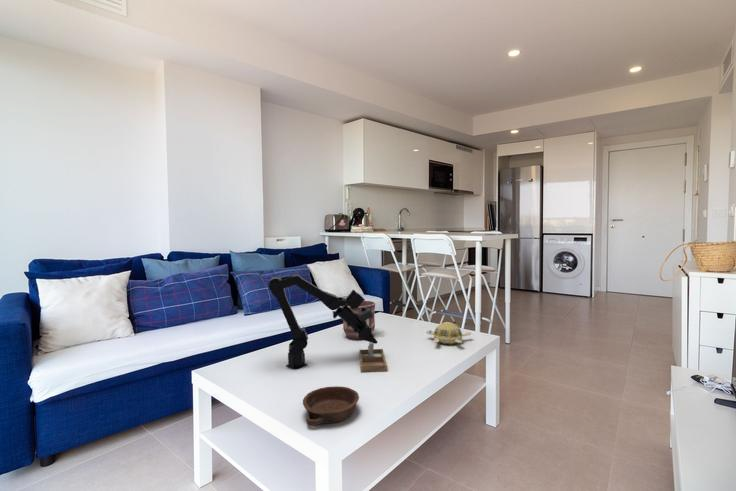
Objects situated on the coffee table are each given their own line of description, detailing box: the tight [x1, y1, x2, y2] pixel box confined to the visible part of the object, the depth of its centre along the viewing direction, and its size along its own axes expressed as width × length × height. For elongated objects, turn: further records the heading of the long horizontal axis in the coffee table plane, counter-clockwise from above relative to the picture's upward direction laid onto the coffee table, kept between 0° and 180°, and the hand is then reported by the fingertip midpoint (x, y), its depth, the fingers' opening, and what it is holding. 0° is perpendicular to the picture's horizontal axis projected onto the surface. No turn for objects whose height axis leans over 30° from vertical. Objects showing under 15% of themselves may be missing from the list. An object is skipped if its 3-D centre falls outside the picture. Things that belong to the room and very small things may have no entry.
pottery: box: [342, 300, 376, 341], centre depth 197 cm, size 18×18×18 cm
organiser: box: [359, 348, 388, 374], centre depth 158 cm, size 20×11×2 cm, turn 3°
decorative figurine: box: [425, 321, 472, 345], centre depth 184 cm, size 26×21×10 cm
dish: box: [302, 386, 360, 426], centre depth 116 cm, size 18×22×5 cm
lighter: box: [367, 342, 375, 357], centre depth 162 cm, size 7×2×8 cm, turn 7°
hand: (374, 339), depth 163 cm, fingers open, 9 cm apart
